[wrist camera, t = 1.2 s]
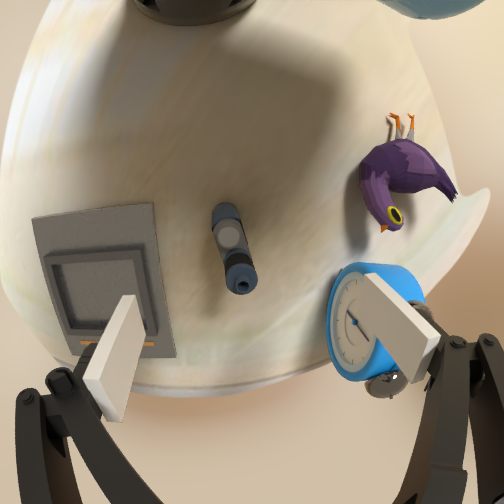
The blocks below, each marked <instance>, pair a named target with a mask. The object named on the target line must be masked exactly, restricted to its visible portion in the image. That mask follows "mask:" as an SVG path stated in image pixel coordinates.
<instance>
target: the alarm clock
mask: <svg viewBox="0 0 504 504" xmlns="http://www.w3.org/2000/svg"><path fill="white" fill-rule="evenodd" d="M369 273H376V274H377V275H378V276H380V277H381V278H382V279H383V280H384V281H385V282H386V283H387V284H388V285H389V286H390V287H392V288H393V289H394V290H395V291H396V292H397V293H398V294H399V295H400V296H401V297H402V298H403V299H404V300H405V301H406V302H408V303H409V304H410V305H411V306H412V307H413V308H414V309H415V308H418V309H420V310H422V311H423V312H425V313H426V314H427V315H428V316H429V317H430V319H432V320H433V321H434V316H433V313H432V311H431V309H430V308H429V307H428V306H427V305H426V304H425V299H424V295H423V292H422V290H421V287H420V285H419V283H418V282H417V280H416V279H415V277H414V276H413V275H412V274H411V273H410V272H409V271H408V270H407V269H405V268H403V267H401V266H398V265H388V264H375V263H363V262H356V263H352V264H350V265H348V266H347V267H345V268H344V269H341V270H340V274H339V275H338V277H337V279H336V281H335V283H334V285H333V287H332V290H331V294H330V297H329V302H328V307H327V316H326V336H327V344H328V349H329V353H330V357H331V360H332V362H333V364H334V366H335V368H336V369H337V371H338V373H339V374H340V375H341V376H343V377H344V378H346V379H347V380H349V381H365V380H368V381H367V382H365V388H366V390H367V392H368V393H369V394H370V395H371V396H373V397H376V398H388V397H389V398H390V399H392V398H393V396H394V395H396V394H398V393H400V392H401V391H402V390H403V389H404V388H405V387H406V385H407V384H408V382H409V380H408V379H407V378H406V376H405V375H404V373H403V372H402V371H401V369H400V368H399V366H398V365H397V364H396V362H395V361H394V360H393V358H392V357H391V355H390V354H389V353H388V351H387V350H386V349H385V347H384V346H383V345H382V343H381V342H380V341H379V339H378V338H377V337H376V335H375V334H374V333H373V331H372V330H371V329H370V327H369V326H368V325H367V324H366V322H365V321H364V320H363V318H362V317H361V316H360V314H359V308H360V302H361V295H362V288H363V281H364V274H369Z"/></svg>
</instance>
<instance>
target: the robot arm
mask: <svg viewBox="0 0 504 504" xmlns="http://www.w3.org/2000/svg"><path fill="white" fill-rule="evenodd" d="M254 1H255V0H134V2H135V3H136V5H137V7H138V8H139V9H140V10H141V11H142V12H143V13H144V14H145V15H147V16H148V17H150V18H152V19H154V20H156V21H159V22H162V23H166V24H171V25H179V26H196V25H204V24H210V23H214V22H218V21H221V20H224V19H227V18H229V17H232V16H234V15H236V14H238V13H240V12H241V11H243V10H244V9H246V8H247V7H248V6H250V5H251V4H252V3H253V2H254ZM377 1H379V2H381V3H383V4H385V5H387V6H389V7H391V8H392V9H394V10H396V11H397V12H399V13H401V14H403V15H405V16H408V17H411V18H415V19H432V20H437V19H444V18H448V17H452V16H455V15H458V14H461V13H463V12H466V11H468V10H470V9H472V8H474V7H475V6H477V5H479V4H480V3H482V2H483V1H484V0H377ZM359 314H360V316H361V317H362V318H363V320H364V321H365V322H366V324H367V325H368V326H369V327H370V329H371V330H372V331H373V333H374V334H375V335H376V337H377V338H378V339H379V341H380V342H381V343H382V345H383V346H384V347H385V349H386V350H387V351H388V353H389V354H390V355H391V357H392V358H393V360H394V361H395V362H396V364H397V365H398V366H399V368H400V369H401V371H402V372H403V373H404V375H405V376H406V378H407V379H408V380H409V382H410V383H411V384H413V383H416V382H418V381H421V380H423V379H424V377H425V374H426V372H427V371H428V372H429V373H430V375H431V376H430V379H429V381H428V383H427V385H426V387H425V389H424V391H426V390H427V393H426V399H425V404H424V409H423V413H422V418H421V422H420V427H419V431H418V435H417V438H416V442H415V446H414V449H413V453H412V456H411V459H410V463H409V466H408V469H407V473H406V475H405V478H404V481H403V484H402V486H401V489H400V492H399V494H398V496H397V497H396V499H395V500H394V502H393V503H392V504H462V501H463V496H464V492H465V487H466V482H467V474H468V473H467V471H466V470H463V469H462V465H463V459H464V452H465V445H466V437H467V427H468V414H469V418H470V424H471V429H472V436H473V443H474V451H475V459H476V469H477V484H478V499H479V504H504V351H503V349H502V347H501V345H500V343H499V341H498V339H497V338H496V337H494V336H493V335H491V334H487V333H484V334H481V335H480V336H479V339H478V341H477V342H474V343H467V341H466V340H464V339H463V338H462V337H459V336H453V335H452V336H449V335H448V334H447V333H446V332H445V331H444V330H443V329H441V327H440V326H439V325H438V324H437V323H435V322H434V321H433V320H432V319H430V317H429V316H428V315H427V314H426V313H425V312H423V311H422V310H420V309H418V308H415V309H414V308H413V307H412V306H411V305H410V304H409V303H408V302H406V301H405V300H404V299H403V298H402V297H401V296H400V295H399V294H398V293H397V292H396V291H395V290H394V289H393V288H392V287H390V286H389V285H388V284H387V283H386V282H385V281H384V280H383V279H382V278H381V277H380V276H378V275H377V274H376V273H369V274H364V281H363V288H362V295H361V302H360V308H359ZM145 336H146V333H145V330H144V326H143V322H142V319H141V315H140V311H139V307H138V303H137V299H136V295H123V296H122V298H121V300H120V302H119V304H118V305H117V307H116V309H115V311H114V313H113V315H112V317H111V319H110V321H109V323H108V325H107V327H106V329H105V331H104V333H103V335H102V337H101V339H100V341H99V343H90V344H89V345H88V346H87V347H86V348H85V349H84V351H83V353H82V355H81V357H80V359H79V361H78V363H77V365H76V367H75V369H74V371H73V373H72V371H71V370H70V369H68V368H65V367H60V368H56V369H54V370H52V371H51V372H50V373H49V374H48V375H47V376H46V379H45V384H46V385H47V387H48V389H49V390H50V392H51V394H49V395H42V396H41V395H40V394H39V392H38V391H37V390H36V389H34V388H27V389H24V390H23V391H21V392H20V393H19V395H18V396H17V399H16V411H15V412H16V413H15V444H16V463H17V474H18V483H19V491H20V497H21V503H22V504H83V503H82V500H81V497H80V493H79V490H78V487H77V483H76V479H75V475H74V471H73V467H72V462H71V458H70V452H69V448H68V442H67V437H68V436H71V437H72V439H73V441H74V443H75V445H76V447H77V449H78V451H79V453H80V454H81V456H82V458H83V460H84V462H85V463H86V465H87V467H88V469H89V470H90V472H91V473H92V475H93V477H94V479H95V480H96V482H97V483H98V485H99V487H100V488H101V490H102V491H103V493H104V494H105V496H106V497H107V498H108V500H109V501H110V503H111V504H164V503H163V502H162V501H161V500H160V499H159V498H158V497H157V496H156V495H155V494H154V492H153V491H152V490H151V489H150V488H149V487H148V486H147V484H146V483H145V482H144V481H143V479H142V478H141V477H140V476H139V475H138V473H137V472H136V471H135V470H134V468H133V467H132V466H131V464H130V463H129V462H128V460H127V459H126V458H125V456H124V455H123V454H122V452H121V451H120V449H119V448H118V447H117V445H116V444H115V442H114V441H113V439H112V438H111V436H110V435H109V433H108V432H107V430H106V429H105V427H104V426H103V424H102V423H101V421H100V419H101V416H102V414H103V416H104V417H105V419H106V420H107V421H110V422H121V423H122V422H123V418H124V413H125V410H126V406H127V401H128V397H129V393H130V390H131V386H132V382H133V378H134V375H135V371H136V367H137V364H138V360H139V357H140V353H141V350H142V346H143V343H144V339H145ZM484 375H485V376H484Z"/></svg>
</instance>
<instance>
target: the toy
mask: <svg viewBox="0 0 504 504" xmlns="http://www.w3.org/2000/svg"><path fill="white" fill-rule="evenodd" d="M390 114H391V115H392V116H390V117H392V118H394V119H396V136H395V140H393V141H390V142H387V143H384V144H382V145H379V146H376V147H374V148H373V149H372V151H371V152H370V153H369V154H368V155H367V156H366V157H365V158H364V159H363V161H362V162H361V163H360V165H359V175H360V188H361V191H362V194H363V197H364V200H365V202H366V205H367V208H368V210H369V211H370V213H371V214H372V215H373V216H374V218H375V219H376V220H377V221H378V223H379V224H380V225H381V233H382V232H383V231H384V230H386V229H388V230H390V231H396V230H399V229H400V228H401V227H402V226H403V216H402V215H401V213H400V211H399V210H398V209H397V208H396V207H395V205H394V203H393V201H392V198H391V195H390V192H389V190H390V191H393V192H398V193H416V192H419V191H421V190H423V189H427V188H430V187H436V188H437V189H438V190H440V191H441V192H443V193H444V194H445V195H446V196H447V198H448V199H449V200H450V201H451V202H452V201H453V199H455V198H456V196H455V194H456V193H457V191H456V189H455V187H454V185H453V183H452V182H451V180H450V178H449V177H448V175H447V173H446V172H445V170H444V169H443V168H442V167H441V166H440V165H439V164H438V163H437V162H436V161H435V159H434V158H433V157H432V156H431V155H430V153H429V152H428V151H427V150H426V149H425V148H423V147H422V146H420V145H418V144H416V143H415V142H413V141H414V115H413V117H412V116H411V115H409V114H408V116H409V117H410V118H411V127H410V131H409V133H408V135H407V138H406V139H402V138H401V130H400V121H399V116H397V115H395V114H392V113H390ZM387 116H388V115H387ZM457 194H458V193H457ZM454 197H455V198H454ZM456 199H457V198H456ZM453 202H454V201H453ZM452 204H453V203H452Z"/></svg>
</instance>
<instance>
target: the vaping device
mask: <svg viewBox="0 0 504 504" xmlns="http://www.w3.org/2000/svg"><path fill="white" fill-rule="evenodd" d="M212 231H213V234H214V238H215V240H216V243H217V246H218V249H219V251H220V254H221V257H222V260H223V262H224V266H225V277H226V285H227V287H228V289H229V290H230V291H231V292H233V293H235V294H238V295H244V294H247V293H250V292H251V291H253V290H254V288H255V287H256V285H257V282H258V278H257V274H256V271H255V268H254V265H253V262H252V258H251V255H250V251H249V248H248V243H247V239H246V236H245V233H244V230H243V227H242V223H241V220H240V218H239V215H238V212H237V209H236V207H235V206H234V205H233V204H230V203H221V204H219V205H217V206H216V207H215V208H214V210H213V213H212Z"/></svg>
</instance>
